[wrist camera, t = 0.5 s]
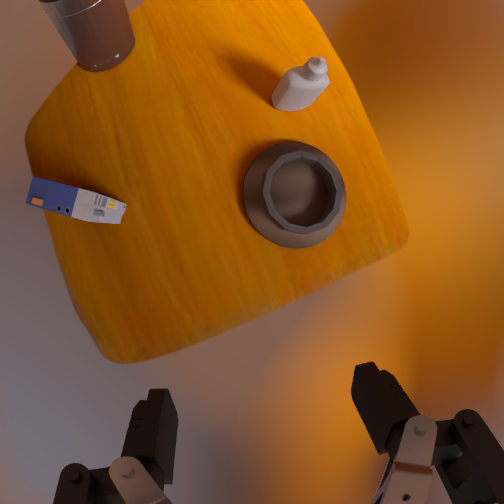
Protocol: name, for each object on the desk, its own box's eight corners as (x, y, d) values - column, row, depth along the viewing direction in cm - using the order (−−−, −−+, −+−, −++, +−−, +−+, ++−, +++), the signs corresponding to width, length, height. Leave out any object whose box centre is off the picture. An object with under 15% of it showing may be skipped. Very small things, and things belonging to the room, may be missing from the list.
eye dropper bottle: (275, 82, 37) (302, 36, 25) (311, 96, 38) (348, 56, 26) (267, 106, 37) (293, 63, 25) (305, 120, 38) (342, 84, 26)
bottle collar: (228, 159, 36) (231, 152, 33) (323, 134, 38) (333, 127, 35) (262, 262, 38) (268, 265, 35) (354, 229, 40) (367, 229, 37)
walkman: (70, 210, 33) (23, 203, 22) (76, 190, 33) (31, 175, 21) (121, 225, 35) (87, 223, 23) (127, 204, 35) (96, 192, 23)
